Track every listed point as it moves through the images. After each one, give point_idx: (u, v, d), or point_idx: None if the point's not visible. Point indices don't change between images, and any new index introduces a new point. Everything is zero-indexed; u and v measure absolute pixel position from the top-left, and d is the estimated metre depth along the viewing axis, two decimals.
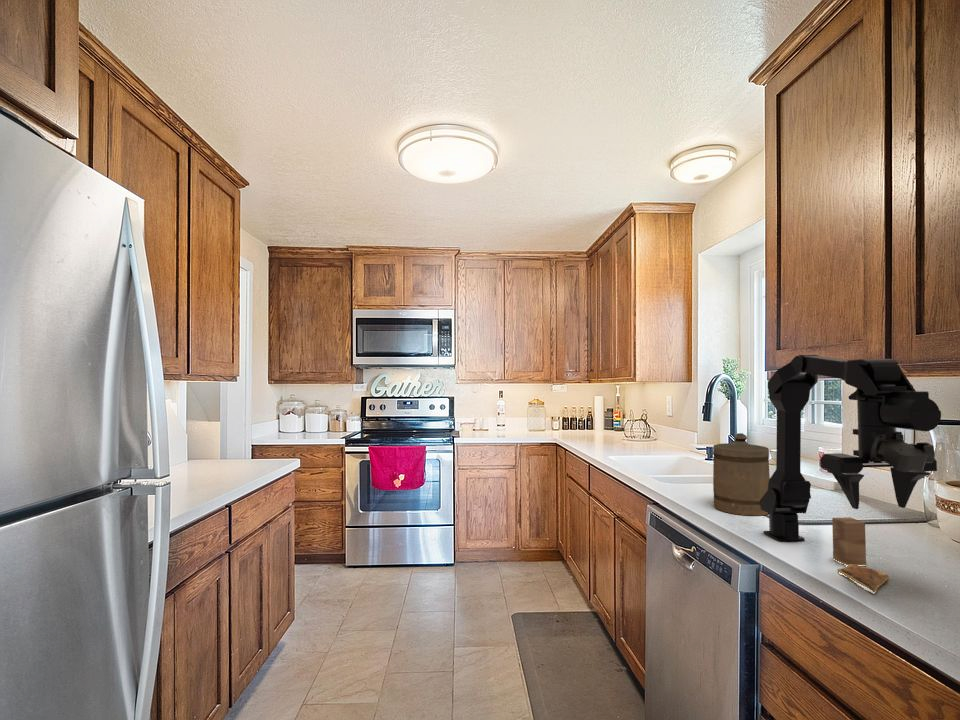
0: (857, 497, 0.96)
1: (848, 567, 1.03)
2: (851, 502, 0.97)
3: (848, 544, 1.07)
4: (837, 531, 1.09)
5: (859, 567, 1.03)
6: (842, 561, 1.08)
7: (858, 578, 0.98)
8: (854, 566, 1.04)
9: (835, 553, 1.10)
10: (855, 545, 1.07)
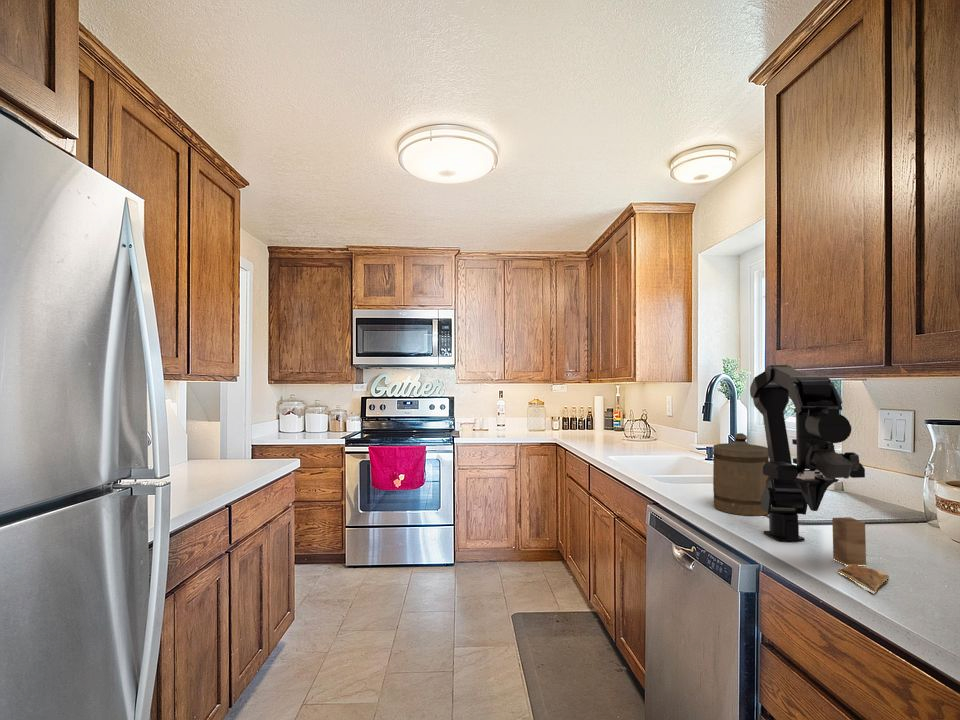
0: (814, 500, 1.07)
1: (848, 567, 1.03)
2: (809, 504, 1.09)
3: (848, 544, 1.07)
4: (837, 531, 1.09)
5: (859, 567, 1.03)
6: (842, 561, 1.08)
7: (858, 578, 0.98)
8: (854, 566, 1.04)
9: (835, 553, 1.10)
10: (856, 545, 1.07)
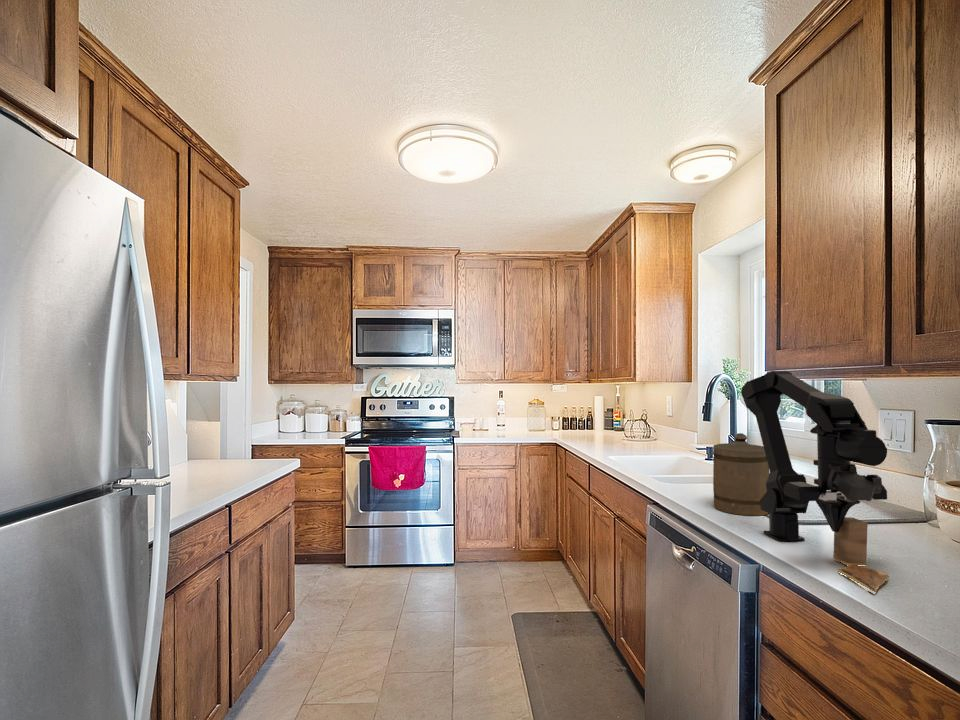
0: (836, 522, 1.08)
1: (848, 567, 1.03)
2: (831, 526, 1.09)
3: (849, 543, 1.07)
4: (839, 530, 1.09)
5: (859, 567, 1.03)
6: (842, 560, 1.08)
7: (858, 578, 0.98)
8: (854, 566, 1.04)
9: (835, 552, 1.10)
10: (857, 544, 1.07)
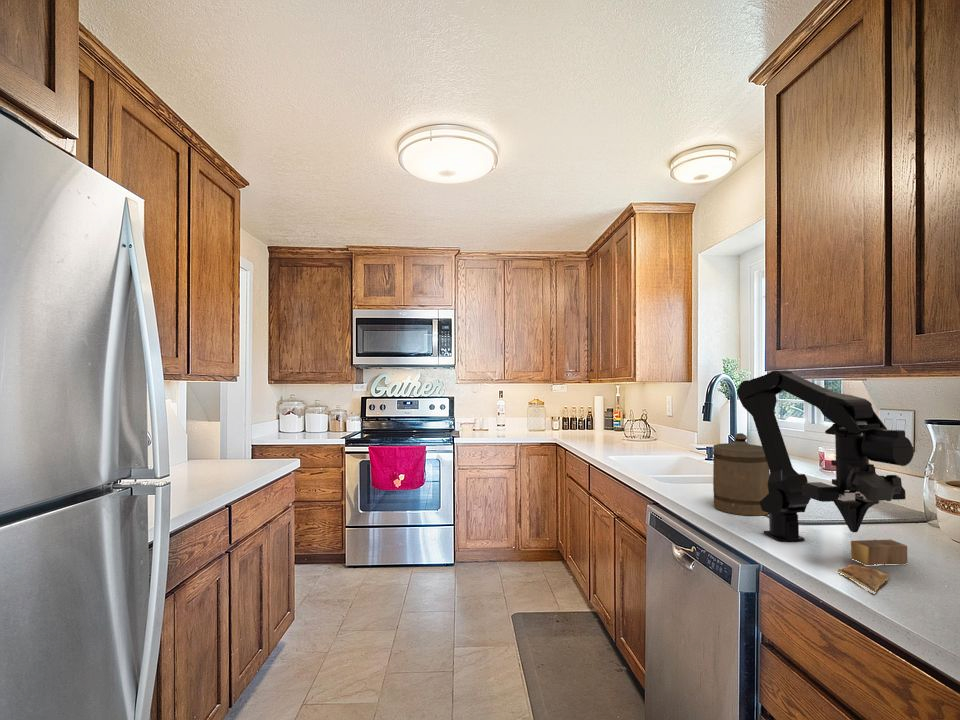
0: (854, 522, 1.08)
1: (848, 567, 1.03)
2: (849, 526, 1.09)
3: (887, 547, 1.07)
4: (885, 542, 1.10)
5: (859, 567, 1.03)
6: (863, 544, 1.08)
7: (858, 578, 0.98)
8: (854, 566, 1.04)
9: (860, 541, 1.10)
10: (886, 555, 1.07)
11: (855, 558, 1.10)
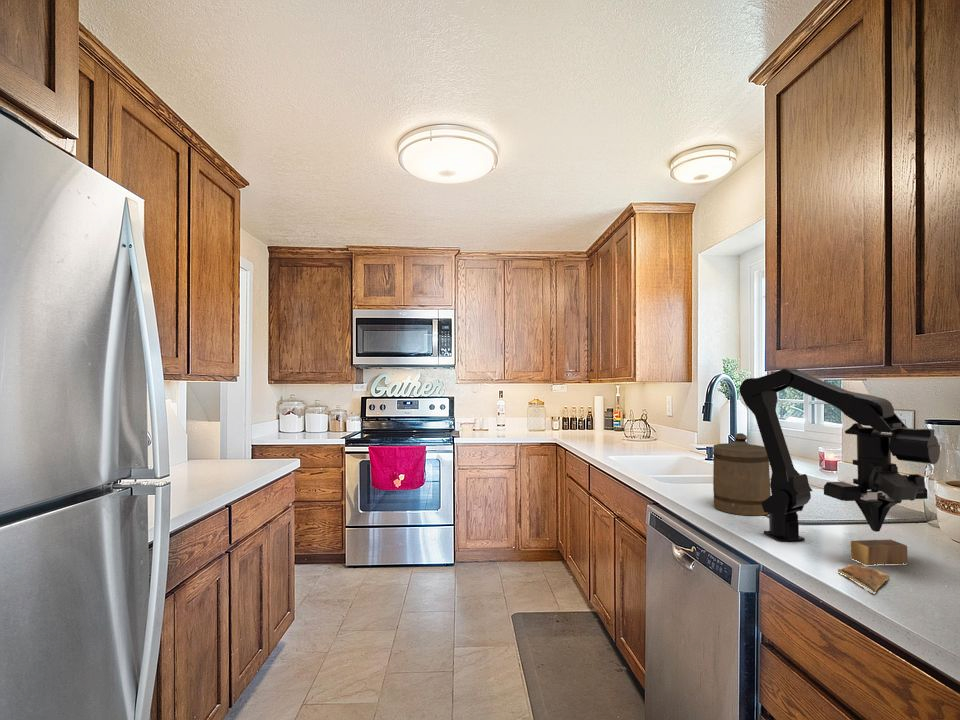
0: (876, 521, 1.08)
1: (848, 567, 1.03)
2: (871, 525, 1.09)
3: (887, 547, 1.07)
4: (885, 541, 1.10)
5: (859, 567, 1.03)
6: (863, 544, 1.08)
7: (858, 578, 0.98)
8: (854, 566, 1.04)
9: (860, 541, 1.10)
10: (886, 555, 1.07)
11: (855, 558, 1.10)
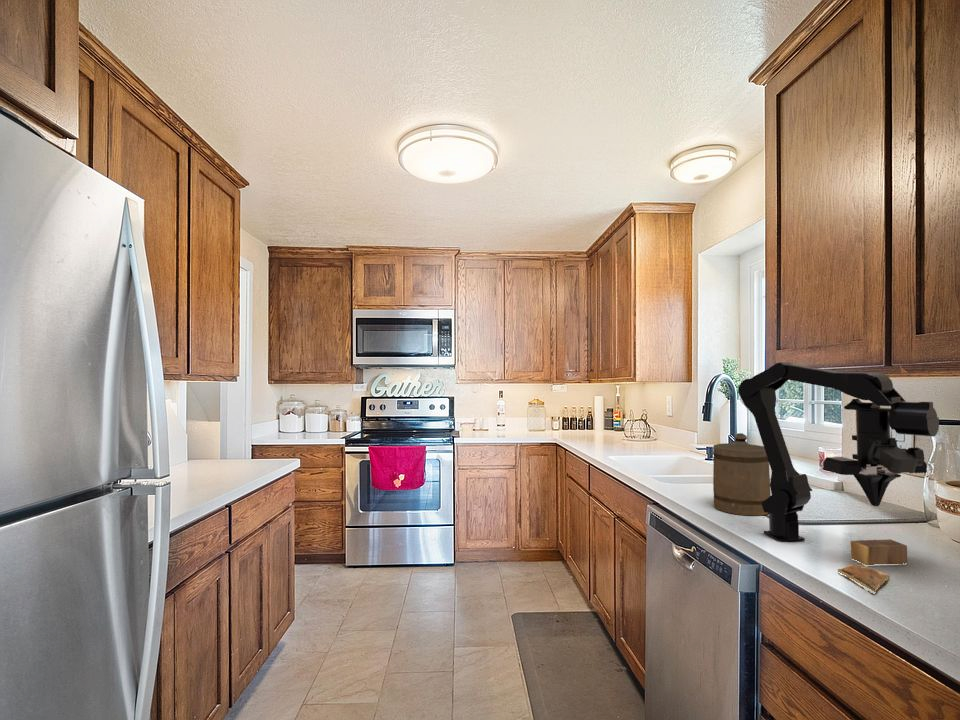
0: (875, 496, 1.08)
1: (848, 567, 1.03)
2: (870, 500, 1.09)
3: (887, 547, 1.07)
4: (885, 541, 1.10)
5: (859, 567, 1.03)
6: (863, 544, 1.08)
7: (858, 578, 0.98)
8: (854, 566, 1.04)
9: (860, 541, 1.10)
10: (886, 555, 1.07)
11: (855, 558, 1.10)
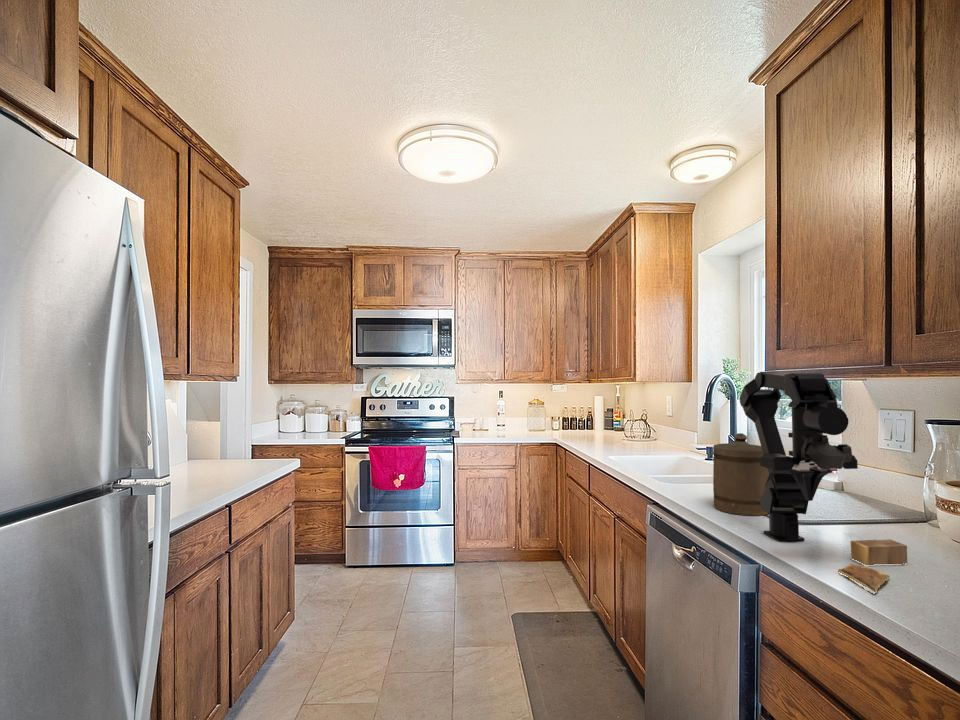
0: (809, 491, 1.12)
1: (848, 567, 1.03)
2: (804, 495, 1.14)
3: (887, 547, 1.07)
4: (885, 541, 1.10)
5: (859, 567, 1.03)
6: (863, 544, 1.08)
7: (858, 578, 0.98)
8: (854, 566, 1.04)
9: (860, 541, 1.10)
10: (886, 555, 1.07)
11: (855, 558, 1.10)
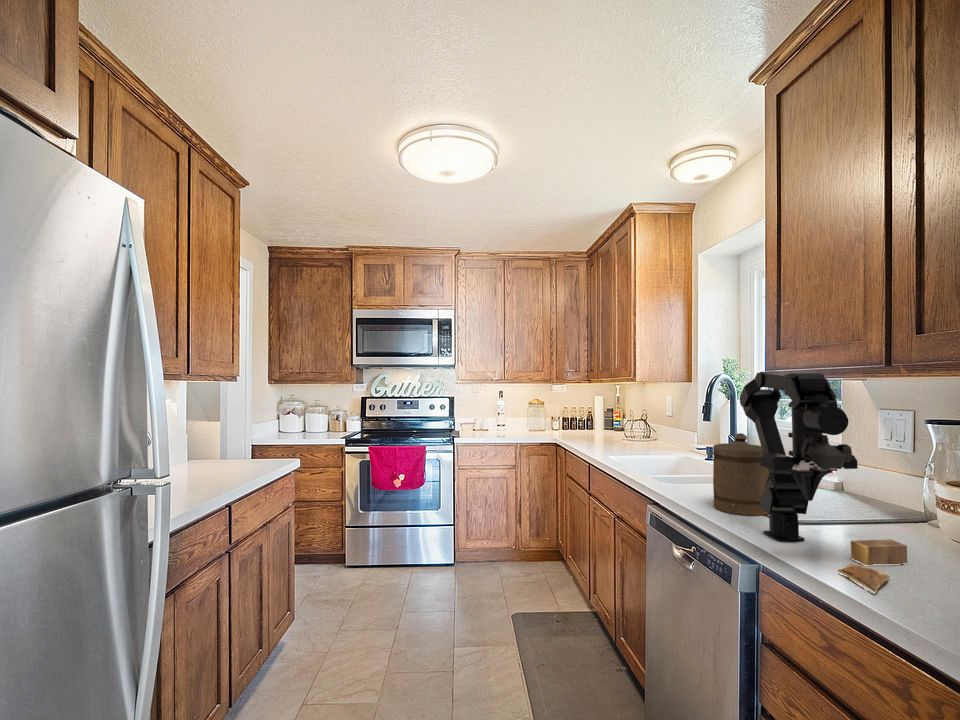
0: (809, 491, 1.12)
1: (848, 567, 1.03)
2: (804, 495, 1.14)
3: (887, 547, 1.07)
4: (885, 541, 1.10)
5: (859, 567, 1.03)
6: (863, 544, 1.08)
7: (858, 578, 0.98)
8: (854, 566, 1.04)
9: (860, 541, 1.10)
10: (886, 555, 1.07)
11: (855, 558, 1.10)
